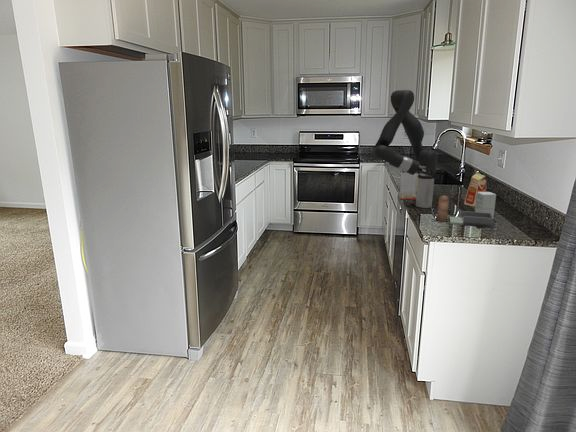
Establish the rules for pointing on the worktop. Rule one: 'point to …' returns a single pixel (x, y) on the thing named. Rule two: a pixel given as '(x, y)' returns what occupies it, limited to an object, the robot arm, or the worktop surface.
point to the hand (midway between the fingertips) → (435, 177)
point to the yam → (443, 208)
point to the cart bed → (474, 219)
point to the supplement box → (485, 202)
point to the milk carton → (475, 188)
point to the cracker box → (408, 186)
